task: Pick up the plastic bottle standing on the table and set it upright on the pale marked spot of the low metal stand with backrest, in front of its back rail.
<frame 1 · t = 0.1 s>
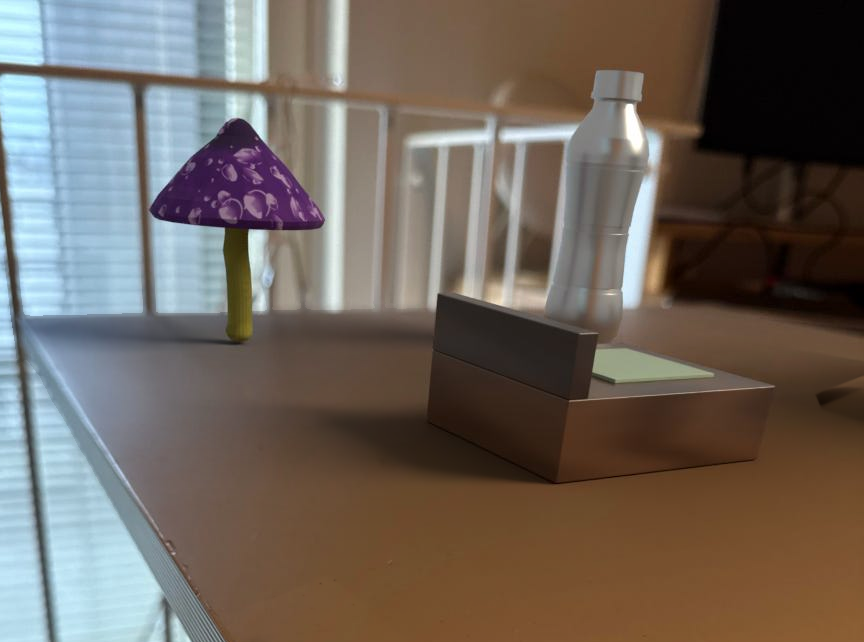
decorative mushroom: (238, 345, 73), on the table
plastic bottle: (577, 349, 81), on the table
metal stand with backrest: (587, 439, 54), on the table
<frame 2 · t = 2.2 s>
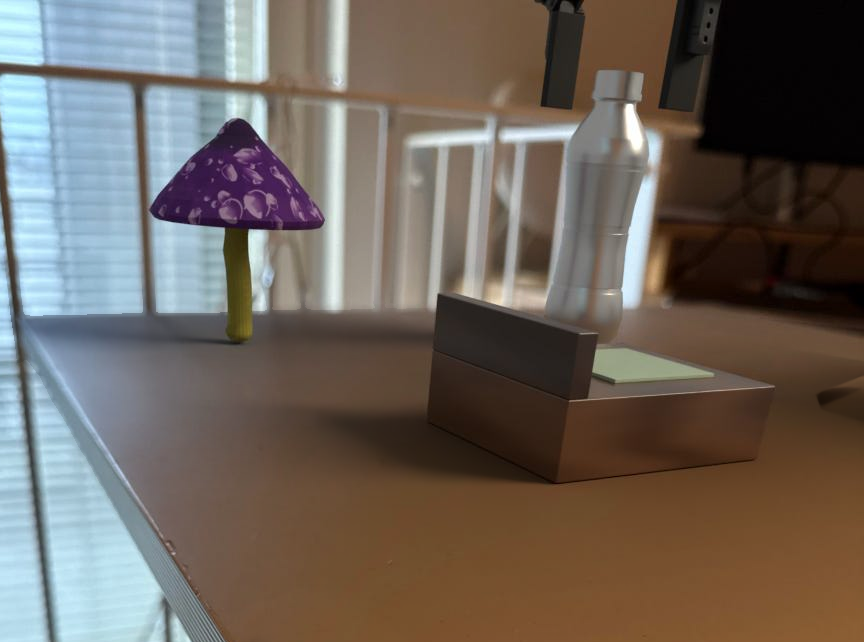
hand: (611, 109, 73), 18 cm above the table, tool pointing down, fingers open, 13 cm apart
nothing on the table moved.
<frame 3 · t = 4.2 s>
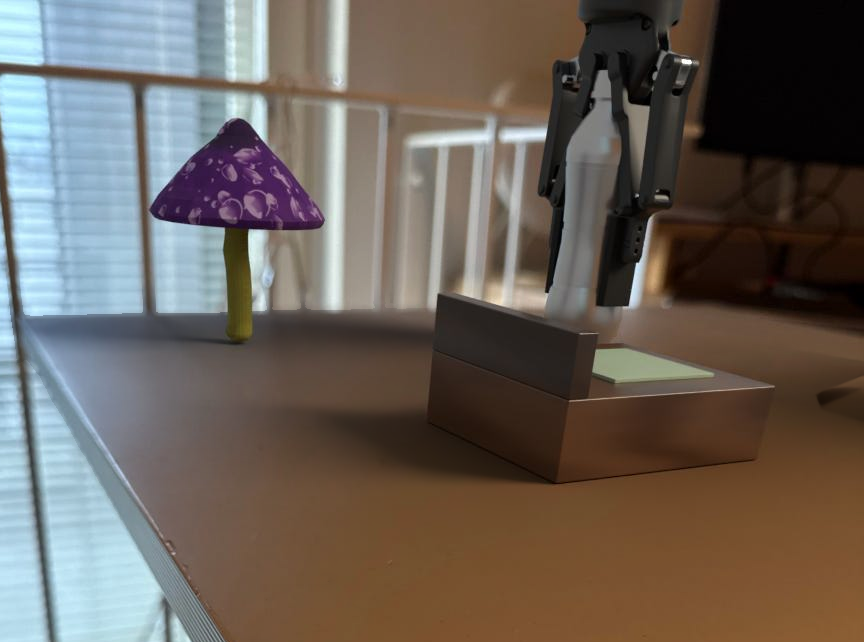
hand: (585, 298, 79), 4 cm above the table, tool pointing down, fingers closed on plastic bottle, 6 cm apart
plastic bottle: (577, 349, 81), on the table, touching gripper
everything else where it was.
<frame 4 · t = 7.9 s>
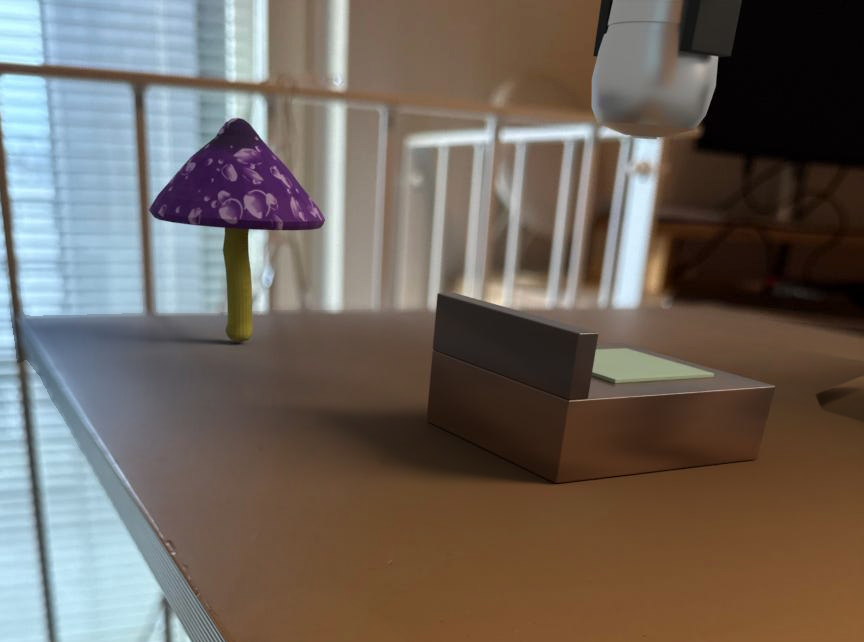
hand: (658, 55, 50), 19 cm above the table, tool pointing down, fingers closed on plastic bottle, 6 cm apart
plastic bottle: (642, 142, 52), point 15 cm above the table, touching gripper
everything else where it was.
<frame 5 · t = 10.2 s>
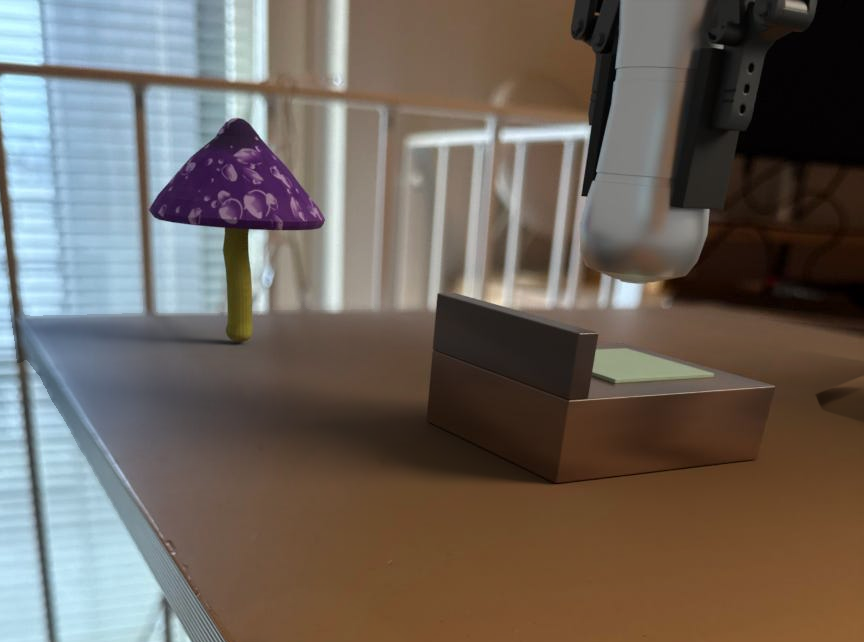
hand: (648, 201, 49), 12 cm above the table, tool pointing down, fingers closed on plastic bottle, 6 cm apart
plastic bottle: (632, 285, 51), point 8 cm above the table, touching gripper
everything else where it was.
when the fingers open (8 cm above the table, at t = 11.8 s): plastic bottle stays where it is, resting on metal stand with backrest.
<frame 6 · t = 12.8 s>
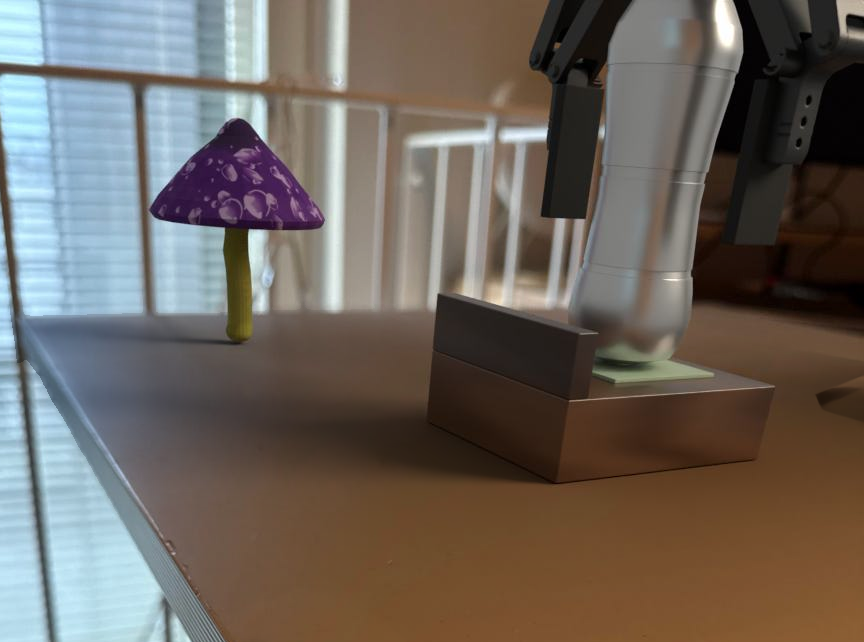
hand: (645, 230, 50), 11 cm above the table, tool pointing down, fingers open, 13 cm apart
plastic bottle: (619, 365, 53), point 4 cm above the table, touching metal stand with backrest
everything else where it was.
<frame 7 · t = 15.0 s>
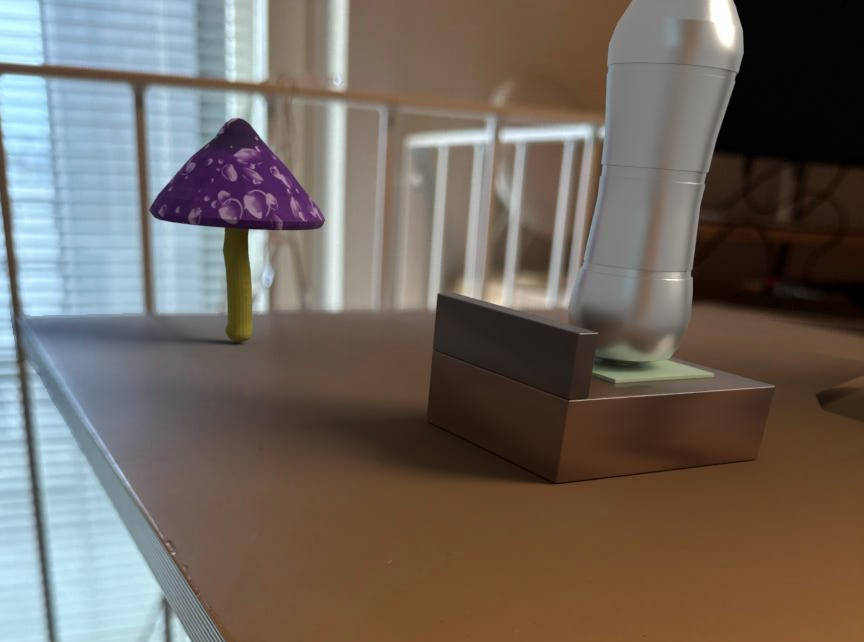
nothing on the table moved.
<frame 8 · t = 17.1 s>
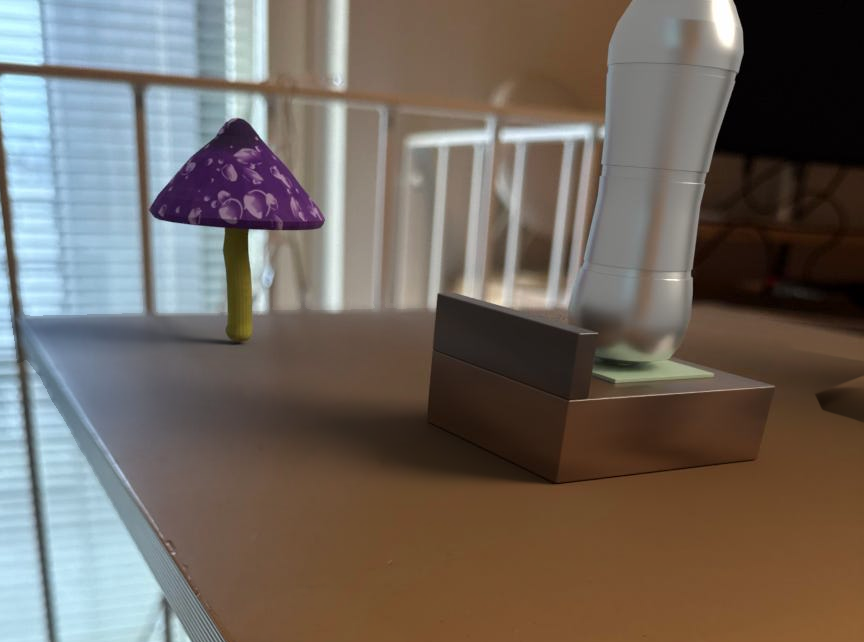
nothing on the table moved.
at the end: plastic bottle inside the target area on the metal stand with backrest (1.0 cm from its centre), point 4.0 cm above the metal stand with backrest's base; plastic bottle tilted 0°; the gripper is holding nothing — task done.
